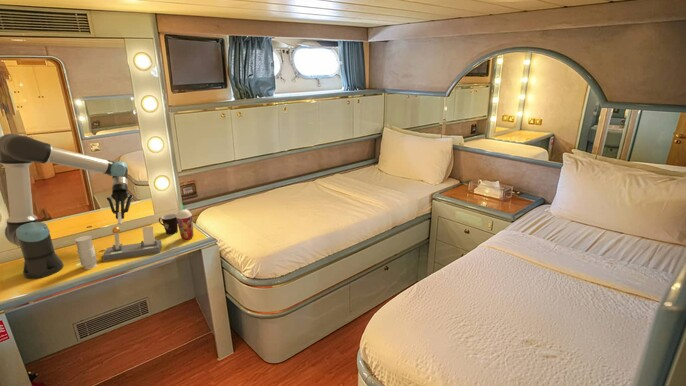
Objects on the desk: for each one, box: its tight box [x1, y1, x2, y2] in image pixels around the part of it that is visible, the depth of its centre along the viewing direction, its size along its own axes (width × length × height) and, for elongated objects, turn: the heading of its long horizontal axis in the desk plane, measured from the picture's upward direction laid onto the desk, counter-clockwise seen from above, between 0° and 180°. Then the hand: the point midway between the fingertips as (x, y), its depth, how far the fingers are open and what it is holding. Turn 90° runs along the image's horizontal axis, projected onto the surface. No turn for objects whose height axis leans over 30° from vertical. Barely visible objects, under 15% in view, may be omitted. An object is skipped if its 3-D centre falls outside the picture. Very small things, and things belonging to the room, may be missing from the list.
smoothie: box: [176, 204, 194, 241], centre depth 213 cm, size 8×8×20 cm
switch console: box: [102, 238, 163, 262], centre depth 198 cm, size 26×10×5 cm, turn 109°
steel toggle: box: [111, 226, 121, 249], centre depth 197 cm, size 4×4×11 cm
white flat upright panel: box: [141, 226, 156, 245], centre depth 201 cm, size 5×1×9 cm, turn 109°
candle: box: [74, 235, 98, 270], centre depth 183 cm, size 7×7×15 cm
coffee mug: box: [158, 213, 179, 235], centre depth 224 cm, size 12×9×10 cm
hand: (120, 223), depth 204 cm, fingers closed
